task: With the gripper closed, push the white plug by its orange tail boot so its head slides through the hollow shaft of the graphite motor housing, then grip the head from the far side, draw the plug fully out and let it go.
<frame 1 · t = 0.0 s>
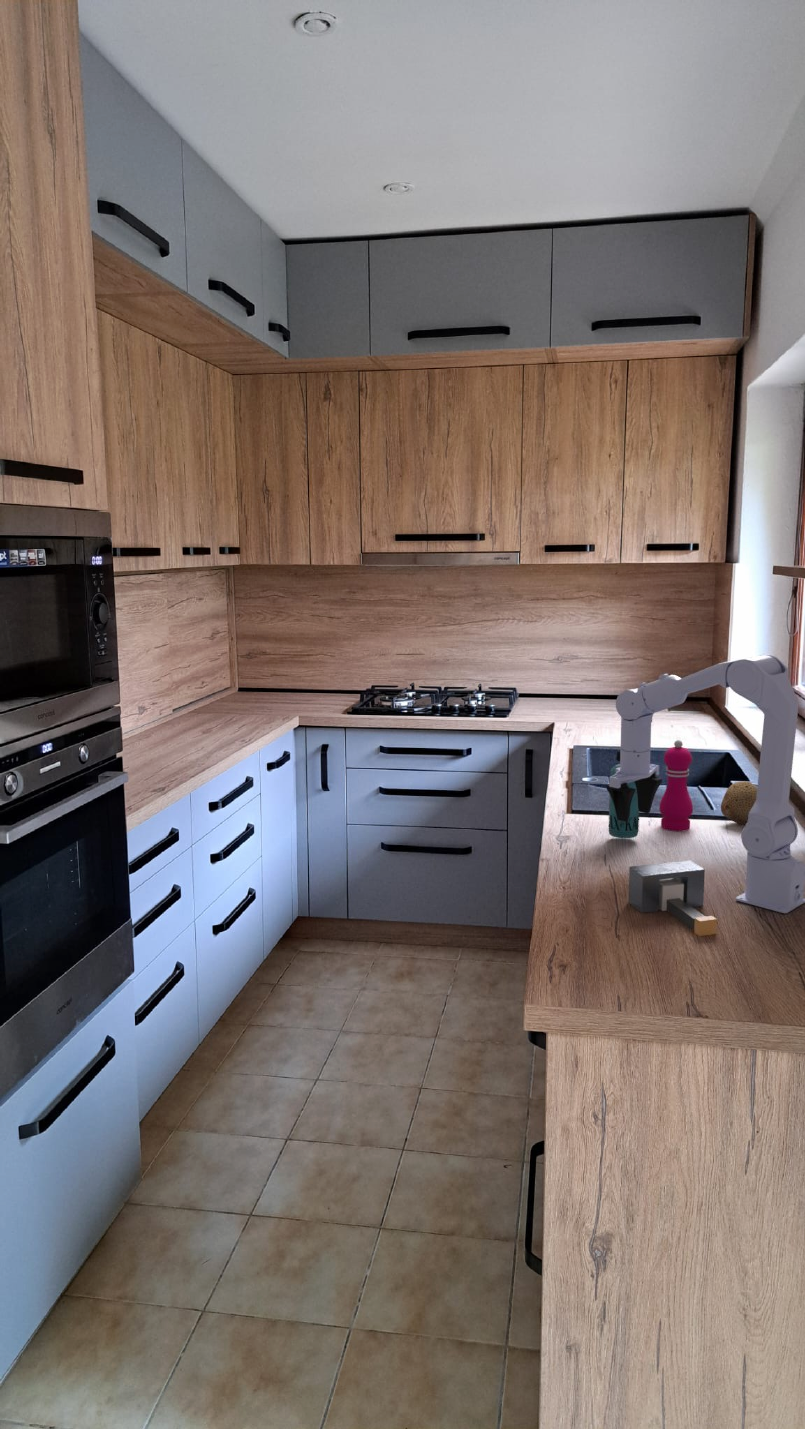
hand: (633, 816, 195), 10 cm above the countertop, fingers open, 7 cm apart
plug: (683, 917, 170), on the countertop
pepper mill: (675, 828, 221), on the countertop
housing: (665, 904, 176), on the countertop
beverage bottle: (623, 841, 212), on the countertop
natural sponge: (743, 825, 222), on the countertop
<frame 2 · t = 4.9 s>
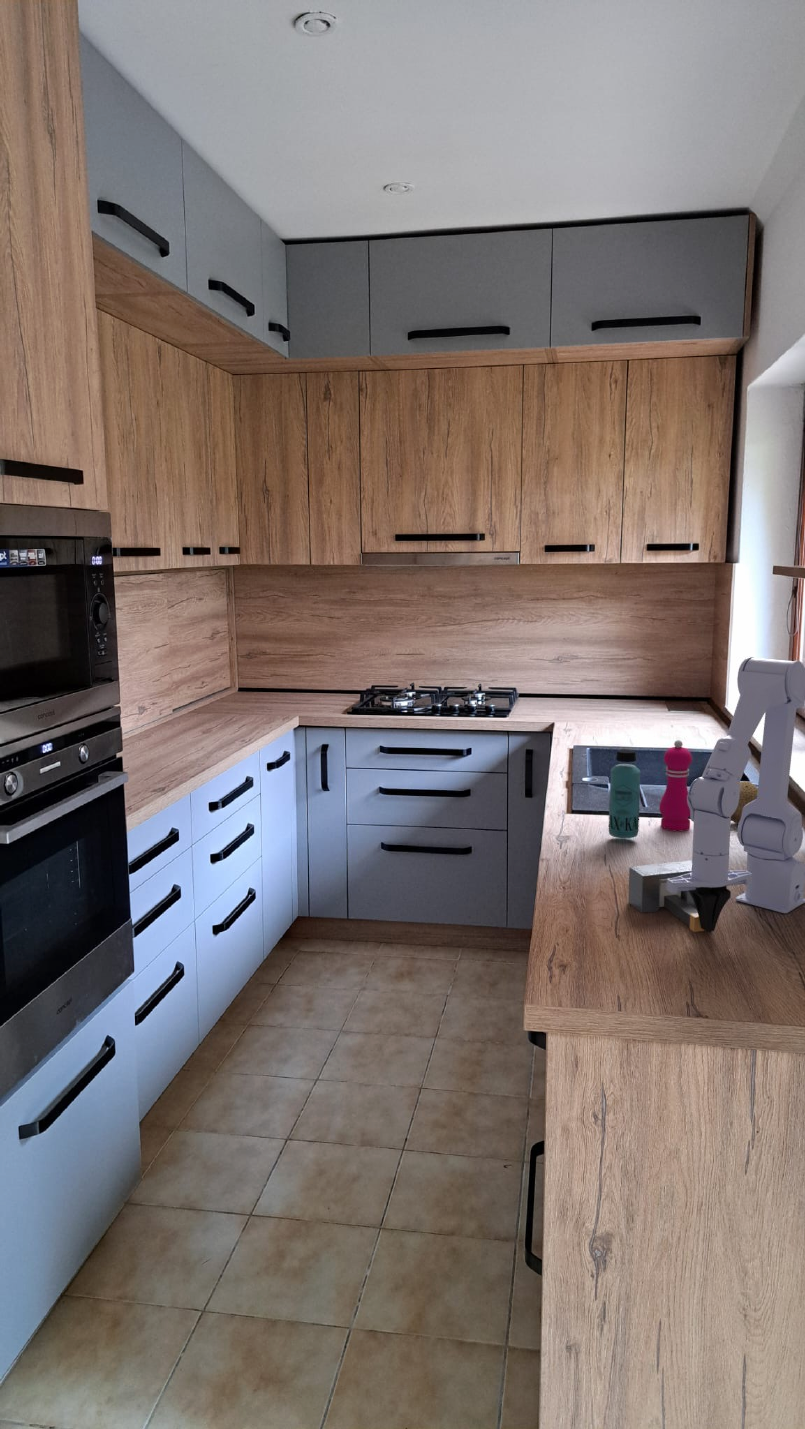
hand: (707, 929, 162), 1 cm above the countertop, fingers closed, pressing on plug
plug: (680, 913, 171), on the countertop, touching gripper
everything else where it was.
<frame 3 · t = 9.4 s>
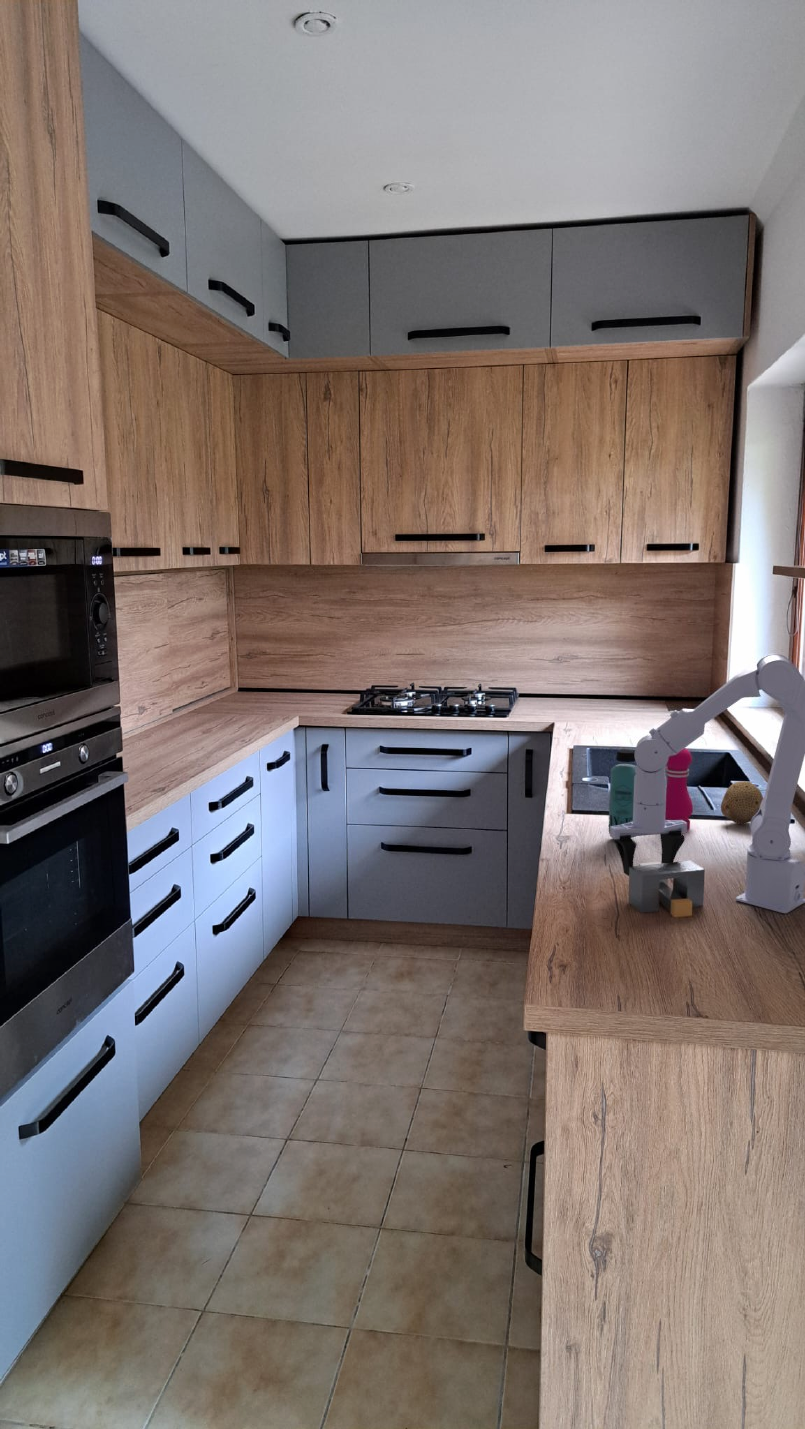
hand: (647, 872, 182), 4 cm above the countertop, fingers open, 7 cm apart
plug: (665, 900, 178), on the countertop, touching gripper
everything else where it was.
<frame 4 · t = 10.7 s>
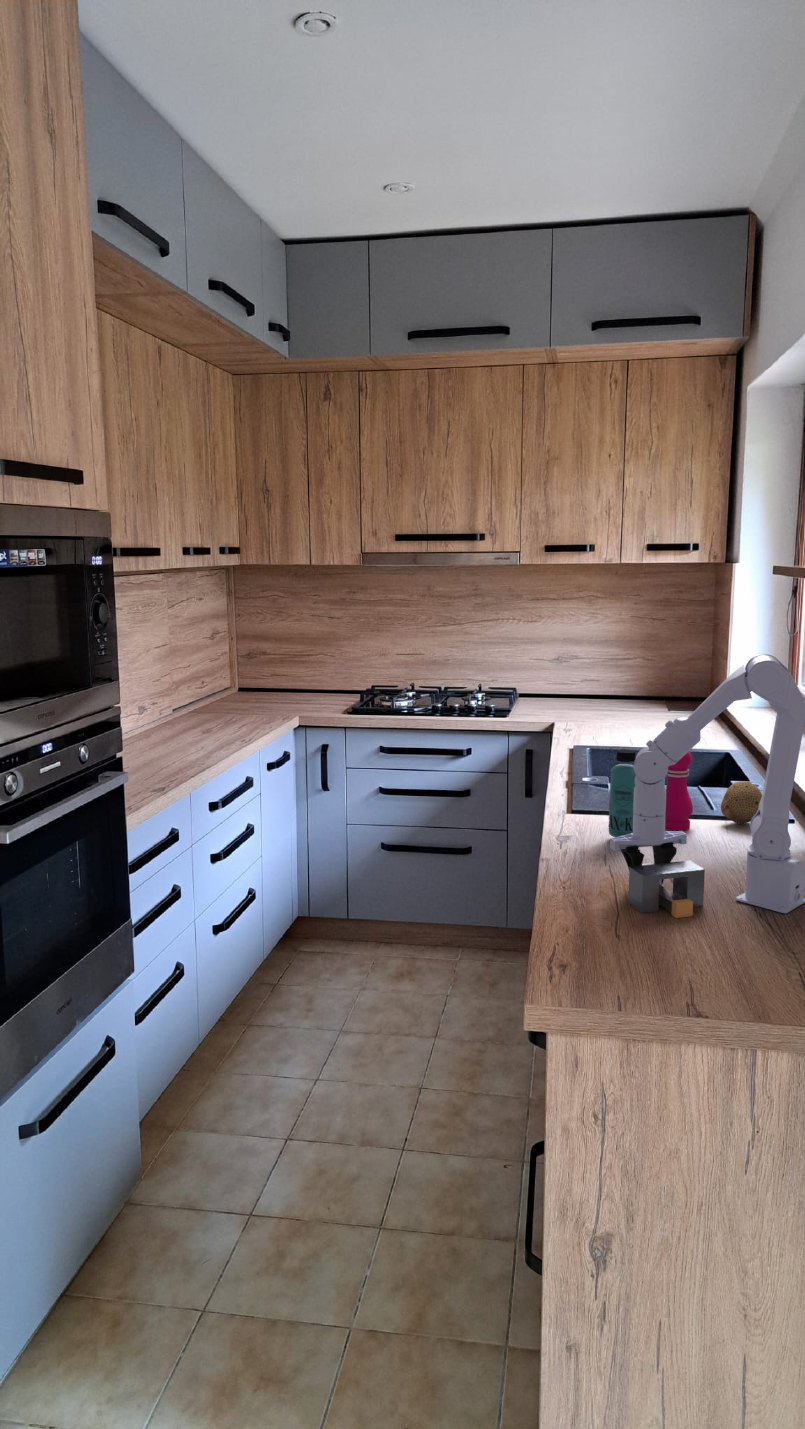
hand: (647, 883, 182), 1 cm above the countertop, fingers closed on plug, 4 cm apart
plug: (661, 901, 177), on the countertop, touching gripper
everything else where it was.
when the fingers open (1 cm above the countertop, at t = 14.5 s): plug stays where it is, on the countertop.
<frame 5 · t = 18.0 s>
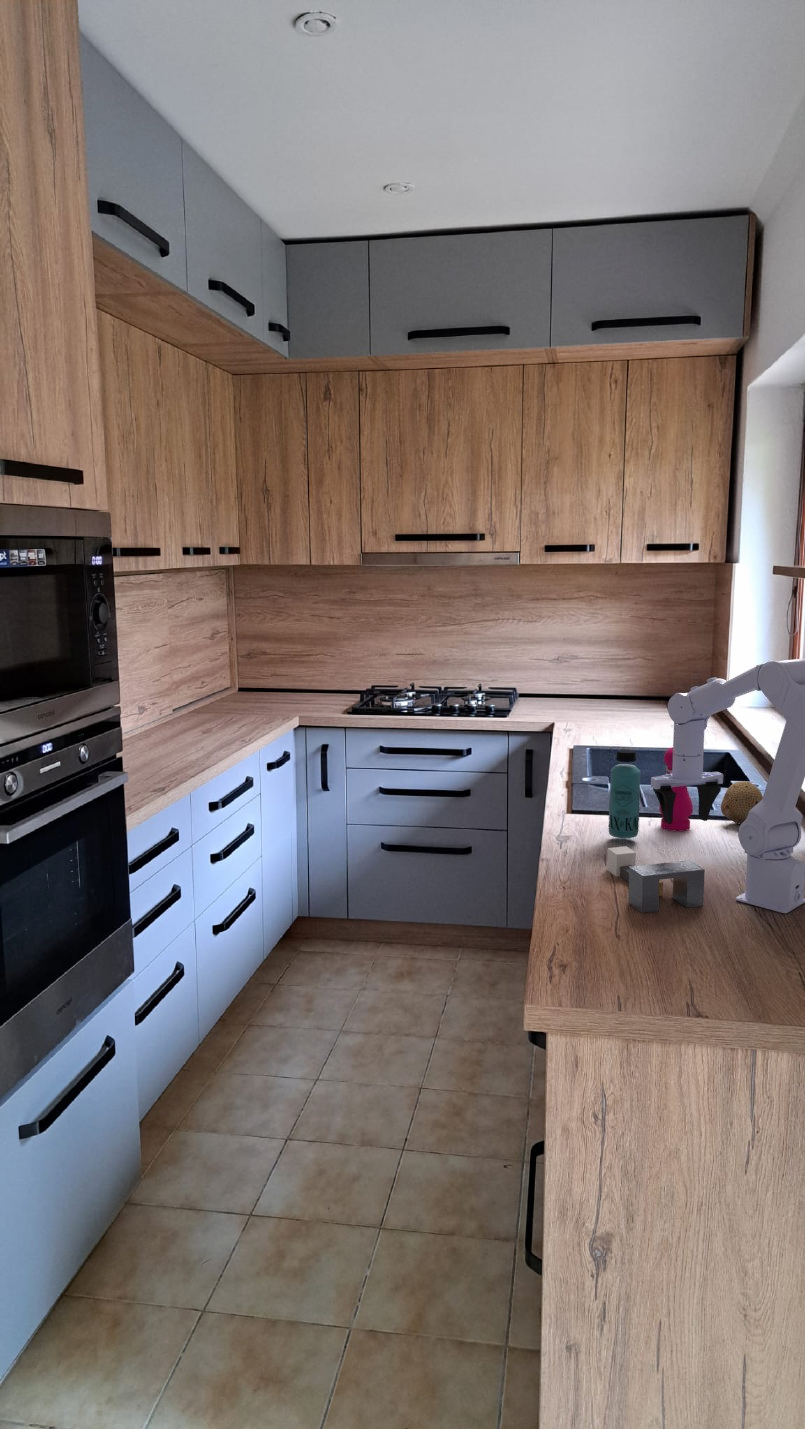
hand: (685, 821, 193), 9 cm above the countertop, fingers open, 7 cm apart
plug: (634, 882, 187), on the countertop
everything else where it was.
at the end: plug 1.3 cm from the target spot, on the countertop; the gripper is holding nothing; plug tilted 0° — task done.
